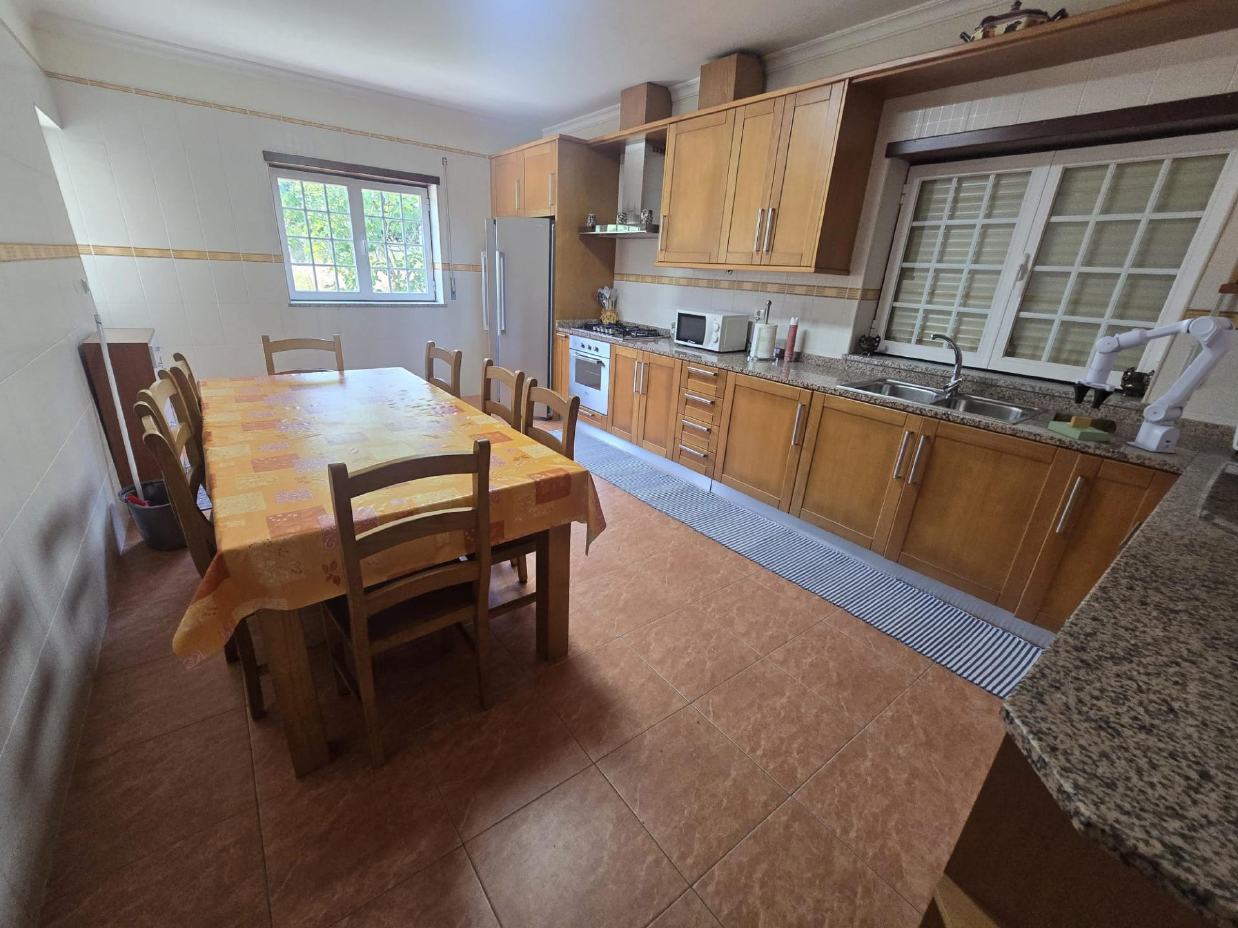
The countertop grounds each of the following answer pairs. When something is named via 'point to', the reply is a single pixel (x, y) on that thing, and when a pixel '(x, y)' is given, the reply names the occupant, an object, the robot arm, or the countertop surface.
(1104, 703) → the countertop surface
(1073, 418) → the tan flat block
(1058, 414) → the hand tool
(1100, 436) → the green flat block
